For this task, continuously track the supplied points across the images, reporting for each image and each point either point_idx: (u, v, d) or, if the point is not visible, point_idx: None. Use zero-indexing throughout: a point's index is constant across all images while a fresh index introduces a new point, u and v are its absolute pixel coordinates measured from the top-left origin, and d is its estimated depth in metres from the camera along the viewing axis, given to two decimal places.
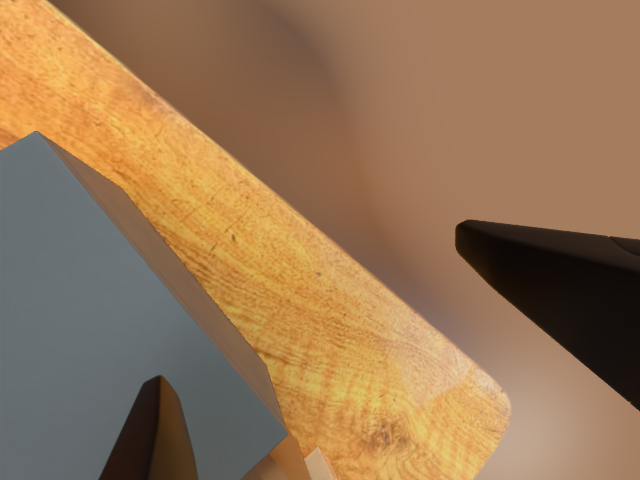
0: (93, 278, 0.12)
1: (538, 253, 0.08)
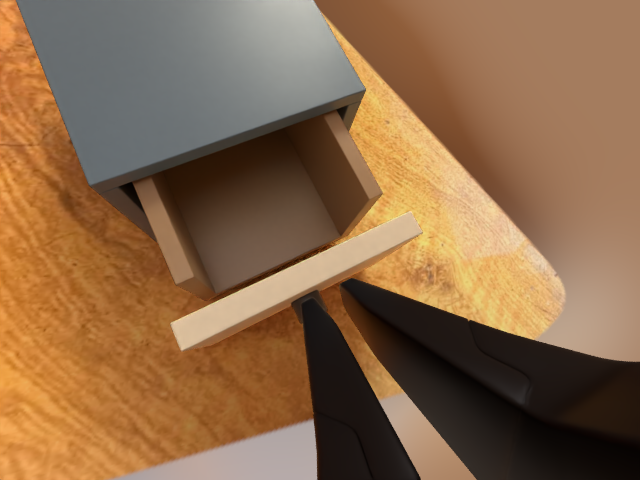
0: None
1: (398, 333, 0.07)
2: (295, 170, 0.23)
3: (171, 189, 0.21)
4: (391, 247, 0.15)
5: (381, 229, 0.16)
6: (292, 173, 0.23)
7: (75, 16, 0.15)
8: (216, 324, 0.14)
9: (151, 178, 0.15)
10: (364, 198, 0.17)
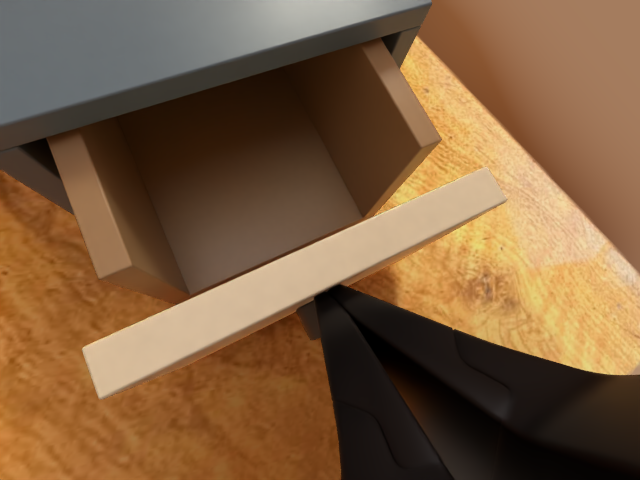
0: None
1: (382, 342, 0.07)
2: (302, 129, 0.17)
3: (132, 150, 0.16)
4: (460, 222, 0.10)
5: (443, 193, 0.10)
6: (298, 133, 0.17)
7: None
8: (166, 350, 0.08)
9: None
10: (411, 148, 0.11)
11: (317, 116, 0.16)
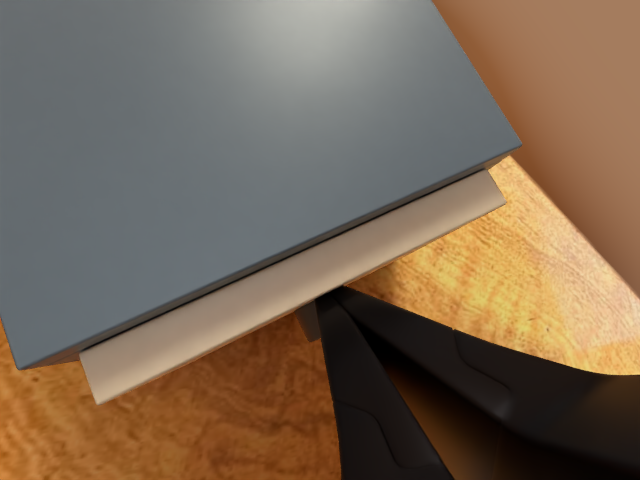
0: None
1: (382, 342, 0.07)
2: None
3: None
4: (459, 225, 0.10)
5: (442, 196, 0.10)
6: None
7: (6, 11, 0.08)
8: (164, 355, 0.08)
9: None
10: None
11: None
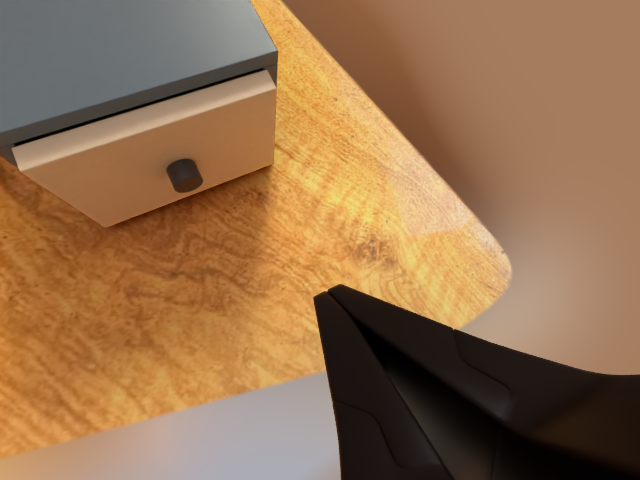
0: None
1: (383, 342, 0.07)
2: None
3: None
4: (242, 98, 0.16)
5: (234, 83, 0.16)
6: None
7: None
8: (57, 151, 0.14)
9: None
10: None
11: None
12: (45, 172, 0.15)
